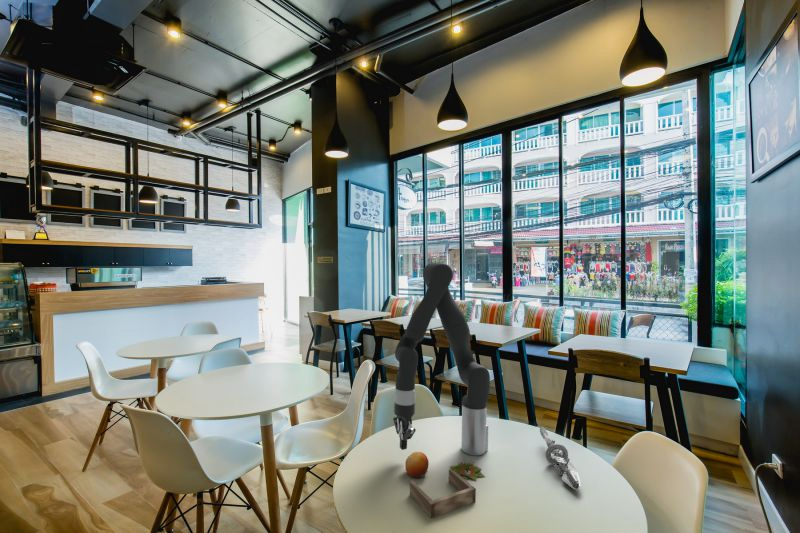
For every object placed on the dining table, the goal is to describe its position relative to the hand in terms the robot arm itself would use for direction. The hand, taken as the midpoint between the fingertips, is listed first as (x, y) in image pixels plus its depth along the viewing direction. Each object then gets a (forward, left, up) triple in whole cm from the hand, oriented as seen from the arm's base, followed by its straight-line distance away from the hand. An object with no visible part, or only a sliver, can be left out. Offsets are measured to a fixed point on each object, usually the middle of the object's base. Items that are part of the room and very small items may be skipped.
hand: (403, 448), depth 133 cm
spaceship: (-48, +27, -5) cm, 55 cm away
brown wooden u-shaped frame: (0, +24, -5) cm, 24 cm away
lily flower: (-16, +16, -5) cm, 24 cm away
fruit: (0, +9, -5) cm, 10 cm away
